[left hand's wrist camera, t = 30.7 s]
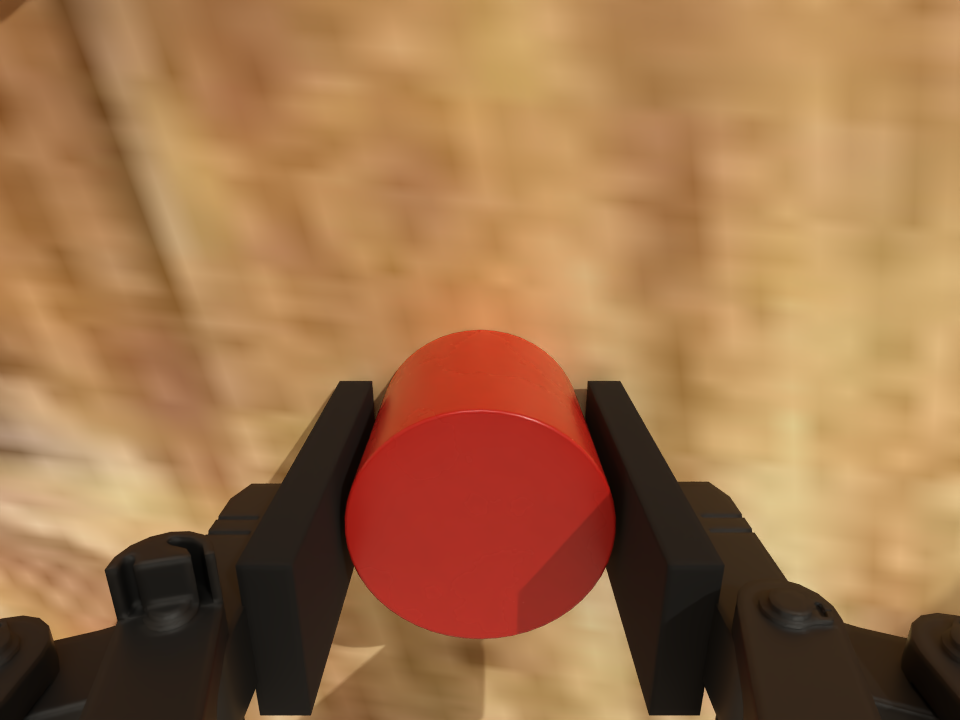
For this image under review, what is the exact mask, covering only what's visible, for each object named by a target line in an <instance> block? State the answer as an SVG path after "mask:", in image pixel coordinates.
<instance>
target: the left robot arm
mask: <svg viewBox="0 0 960 720" xmlns="http://www.w3.org/2000/svg"><path fill="white" fill-rule="evenodd" d="M585 422H586V425H587V427H588V430H589V433H590V436H591V438H592V441H593V444H594V446H595V449H596V452H597V455H598V457H599V460H600V463H601V466H602V468H603V471H604V474H605V476H606V479H607V482H608V485H609V487H610V491H611V494H612V497H613V501H614V506H615V513H616V534H615V540H614V545H613V549H612V552H611V555H610V558H609V561H608V564H607V566H606V569H607V572H608V576H609V579H610V583H611V586H612V589H613V593H614V596H615V600H616V603H617V607H618V610H619V614H620V617H621V620H622V624H623V627H624V631H625V634H626V638H627V641H628V644H629V648H630V651H631V655H632V658H633V662H634V665H635V668H636V672H637V675H638V679H639V682H640V686H641V689H642V693H643V696H644V699H645V703H646V706H647V710H648V713H649V715H700V711H701V705H702V699H703V693H704V687H705V688H706V691H707V693H708V696H709V698H710V701H711V703H712V706H713V708H714V711H715V713H716V718H715V720H960V616H956V615H948V614H941V613H934V614H928V615H921V616H920V617H919V618H918V619H916V620H915V621H914V622H913V623H912V625H911V628H910V631H909V634H908V638H903V637H899V636H894V635H890V634H885V633H881V632H876V631H872V630H868V629H863V628H859V627H856V626H853V625H849V624H846V623H843V620H842V619H841V617H840V616H839V614H838V613H837V611H836V610H835V608H834V607H833V606H832V605H831V604H830V603H829V602H827V601H826V600H825V599H824V598H823V597H821V596H820V595H819V594H817V593H815V592H813V591H811V590H809V589H808V588H806V587H804V586H802V585H800V584H796V583H792V582H789V581H787V579H786V578H785V576H784V575H783V573H782V572H781V570H780V569H779V568H778V566H777V565H776V563H775V562H774V560H773V559H772V557H771V556H770V554H769V553H768V552H767V550H766V549H765V547H764V546H763V544H762V543H761V541H760V540H759V539H758V537H757V536H756V534H755V533H752V528H751V527H750V525H749V524H748V523H747V521H746V520H745V518H742V514H741V512H740V511H739V510H738V508H737V507H736V505H735V504H734V502H733V501H732V499H731V498H730V497H729V496H728V495H726V494H725V493H724V492H722V491H721V490H719V489H718V488H717V487H715V486H714V485H712V484H711V483H710V482H677V480H676V479H675V477H674V475H673V473H672V472H671V470H670V468H669V466H668V464H667V463H666V461H665V459H664V457H663V456H662V454H661V452H660V450H659V449H658V447H657V445H656V443H655V442H654V440H653V438H652V436H651V435H650V433H649V431H648V429H647V428H646V426H645V424H644V422H643V421H642V419H641V417H640V415H639V413H638V412H637V410H636V408H635V406H634V405H633V403H632V401H631V399H630V398H629V396H628V394H627V392H626V391H625V389H624V387H623V385H622V384H621V382H620V381H588V387H587V402H586V417H585ZM374 423H375V418H374V402H373V387H372V381H340V382H339V384H338V385H337V387H336V389H335V391H334V392H333V394H332V396H331V398H330V399H329V401H328V403H327V405H326V406H325V408H324V410H323V412H322V413H321V415H320V417H319V419H318V420H317V422H316V424H315V426H314V427H313V429H312V431H311V433H310V435H309V436H308V438H307V440H306V442H305V443H304V445H303V447H302V449H301V450H300V452H299V454H298V456H297V457H296V459H295V461H294V463H293V464H292V466H291V468H290V470H289V471H288V473H287V475H286V477H285V479H284V480H283V482H282V484H251V485H249V486H248V487H246V488H245V489H244V490H242V491H241V492H239V493H238V494H237V495H235V496H234V497H232V498H231V499H230V500H229V502H228V503H227V505H226V506H225V508H224V509H223V511H222V512H221V513H220V515H219V518H218V520H216V521H215V522H214V524H213V525H212V527H211V528H210V529H209V533H208V535H203V534H198V533H194V532H190V531H183V532H168V533H164V534H160V535H156V536H152V537H149V538H147V539H144V540H142V541H140V542H138V543H135V544H133V545H131V546H129V547H128V548H127V549H125V550H124V551H122V552H121V553H120V554H118V555H117V556H115V557H114V558H113V560H112V561H111V562H110V564H109V565H108V566H107V568H106V569H105V573H106V577H107V581H108V585H109V589H110V593H111V597H112V601H113V605H114V608H115V612H116V616H117V620H118V621H117V624H116V626H113V627H110V628H106V629H103V630H99V631H95V632H90V633H86V634H82V635H77V636H73V637H69V638H64V639H60V640H55V641H53V638H52V634H51V631H50V628H49V626H48V625H47V624H46V623H45V622H44V621H42V620H41V619H40V618H36V617H29V616H17V617H10V618H2V619H0V720H245V718H244V716H245V714H246V711H247V709H248V706H249V704H250V701H251V699H252V696H253V694H254V691H255V689H256V693H257V699H258V705H259V711H260V715H311V713H312V710H313V706H314V703H315V699H316V696H317V692H318V689H319V686H320V682H321V679H322V675H323V672H324V668H325V665H326V662H327V658H328V655H329V651H330V648H331V644H332V641H333V637H334V634H335V631H336V627H337V624H338V620H339V617H340V613H341V610H342V607H343V603H344V600H345V596H346V593H347V589H348V586H349V583H350V579H351V576H352V572H353V569H354V565H353V562H352V560H351V557H350V554H349V551H348V548H347V543H346V537H345V510H346V503H347V499H348V496H349V492H350V489H351V486H352V483H353V481H354V478H355V475H356V472H357V470H358V467H359V464H360V461H361V459H362V456H363V453H364V451H365V448H366V445H367V442H368V440H369V437H370V434H371V431H372V429H373V426H374Z"/></svg>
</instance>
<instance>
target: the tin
mask: <svg viewBox="0 0 960 720" xmlns="http://www.w3.org/2000/svg"><path fill="white" fill-rule="evenodd" d="M615 534H616V513H615V506H614V501H613V497H612V494H611V491H610V487H609V485H608V482H607V479H606V476H605V474H604V471H603V468H602V466H601V463H600V460H599V457H598V455H597V452H596V449H595V446H594V444H593V441H592V438H591V436H590V433H589V430H588V427H587V425H586V422H585V419H584V416H583V414H582V411H581V408H580V406H579V403H578V400H577V397H576V395H575V392H574V389H573V387H572V385H571V383H570V381H569V379H568V377H567V376H566V374H565V373H564V371H563V370H562V368H561V367H560V366H559V365H558V364H557V363H556V362H555V360H554V359H553V358H552V357H550V356H549V355H548V354H547V353H546V352H545V351H543V350H542V349H540V348H539V347H537V346H536V345H534V344H533V343H530V342H528V341H526V340H524V339H522V338H520V337H517V336H514V335H511V334H508V333H503V332H497V331H488V330H472V331H463V332H458V333H453V334H450V335H447V336H444V337H440V338H438V339H436V340H434V341H432V342H430V343H428V344H426V345H425V346H423V347H422V348H420V349H419V350H417V351H416V352H415V353H414V354H412V355H411V356H410V357H409V358H408V359H407V360H406V361H405V362H404V363H403V364H402V365H401V366H400V368H399V369H398V370H397V372H396V373H395V375H394V376H393V378H392V380H391V382H390V384H389V386H388V388H387V390H386V393H385V396H384V399H383V401H382V404H381V407H380V409H379V412H378V415H377V418H376V420H375V423H374V426H373V429H372V431H371V434H370V437H369V440H368V442H367V445H366V448H365V451H364V453H363V456H362V459H361V461H360V464H359V467H358V470H357V472H356V475H355V478H354V481H353V483H352V486H351V489H350V492H349V496H348V499H347V503H346V510H345V537H346V543H347V548H348V551H349V554H350V557H351V560H352V562H353V565H354V567H355V569H356V571H357V573H358V575H359V576H360V578H361V579H362V581H363V582H364V584H365V585H366V587H367V588H368V589H369V590H370V591H371V592H372V594H373V595H374V596H375V597H376V598H377V599H378V600H379V601H380V602H381V603H383V604H384V605H385V606H386V607H387V608H388V609H390V610H391V611H393V612H394V613H395V614H397V615H398V616H400V617H401V618H403V619H405V620H407V621H409V622H411V623H413V624H415V625H417V626H419V627H422V628H424V629H427V630H430V631H432V632H436V633H440V634H444V635H447V636H454V637H460V638H472V639H488V638H500V637H507V636H513V635H517V634H521V633H524V632H528V631H531V630H533V629H536V628H539V627H541V626H544V625H546V624H548V623H550V622H552V621H554V620H556V619H557V618H559V617H560V616H562V615H564V614H565V613H567V612H568V611H570V610H571V609H572V608H573V607H574V606H576V605H577V604H578V603H579V602H580V601H581V600H583V598H584V597H585V596H586V595H587V594H588V593H589V592H590V591H591V590H592V589H593V587H594V586H595V584H596V583H597V581H598V580H599V579H600V577H601V575H602V574H603V572H604V570H605V568H606V566H607V564H608V561H609V558H610V555H611V552H612V549H613V545H614V540H615Z"/></svg>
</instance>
